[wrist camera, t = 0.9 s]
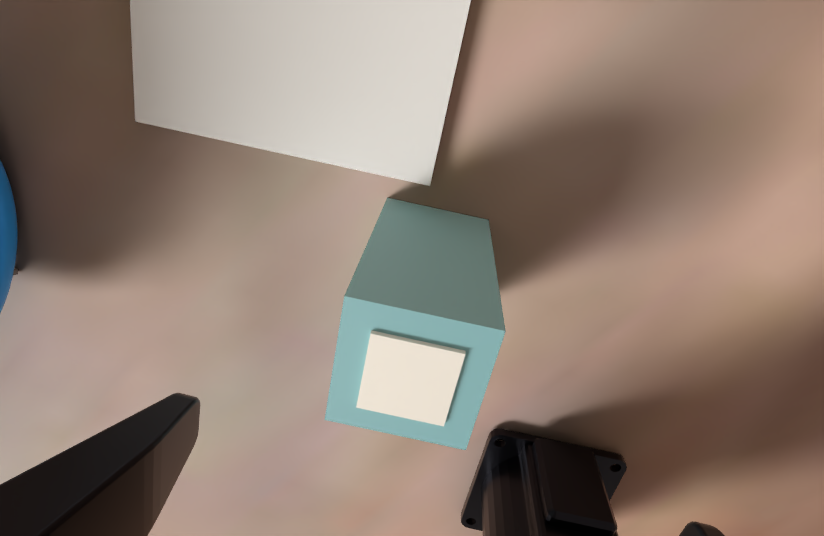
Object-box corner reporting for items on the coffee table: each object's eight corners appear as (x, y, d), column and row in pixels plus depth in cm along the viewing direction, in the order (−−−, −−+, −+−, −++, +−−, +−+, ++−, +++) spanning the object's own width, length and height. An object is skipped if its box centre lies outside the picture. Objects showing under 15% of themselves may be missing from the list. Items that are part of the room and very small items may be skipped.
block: (463, 307, 21) (465, 454, 14) (370, 287, 21) (323, 423, 14) (488, 219, 19) (506, 334, 12) (387, 197, 19) (343, 299, 12)
